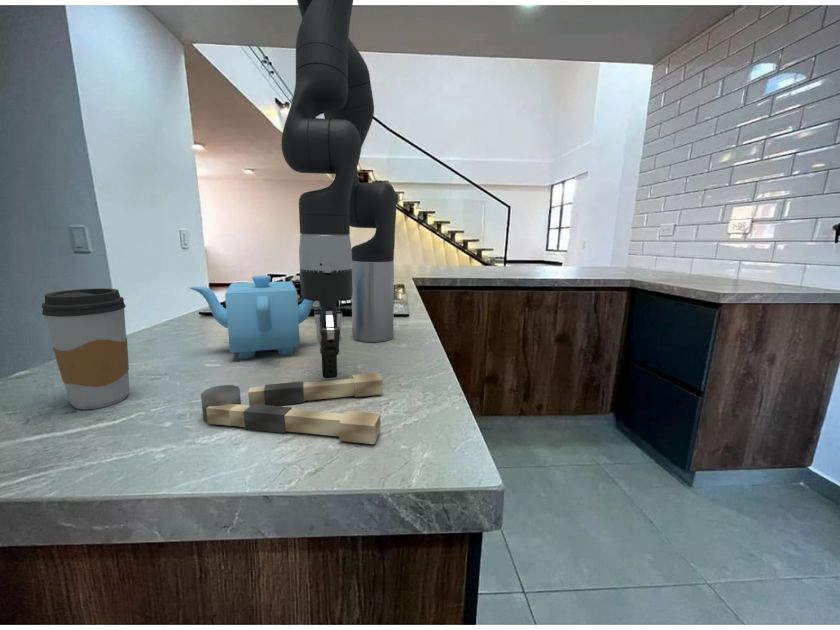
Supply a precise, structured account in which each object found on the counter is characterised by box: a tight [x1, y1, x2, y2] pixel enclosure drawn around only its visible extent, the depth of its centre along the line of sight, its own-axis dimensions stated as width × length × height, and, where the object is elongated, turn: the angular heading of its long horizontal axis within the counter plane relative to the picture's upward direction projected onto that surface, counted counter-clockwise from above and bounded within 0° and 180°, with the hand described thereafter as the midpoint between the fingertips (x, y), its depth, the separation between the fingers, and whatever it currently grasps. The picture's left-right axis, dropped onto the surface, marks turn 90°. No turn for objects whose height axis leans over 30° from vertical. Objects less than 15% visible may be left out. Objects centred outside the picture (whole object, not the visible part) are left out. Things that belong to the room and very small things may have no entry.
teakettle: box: [187, 274, 314, 360], centre depth 76 cm, size 19×19×15 cm
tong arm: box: [247, 372, 384, 406], centre depth 54 cm, size 18×3×2 cm, turn 107°
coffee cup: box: [41, 288, 131, 410], centre depth 51 cm, size 8×8×15 cm
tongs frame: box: [200, 384, 381, 445], centre depth 47 cm, size 23×6×3 cm, turn 82°
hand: (329, 376), depth 60 cm, fingers closed
